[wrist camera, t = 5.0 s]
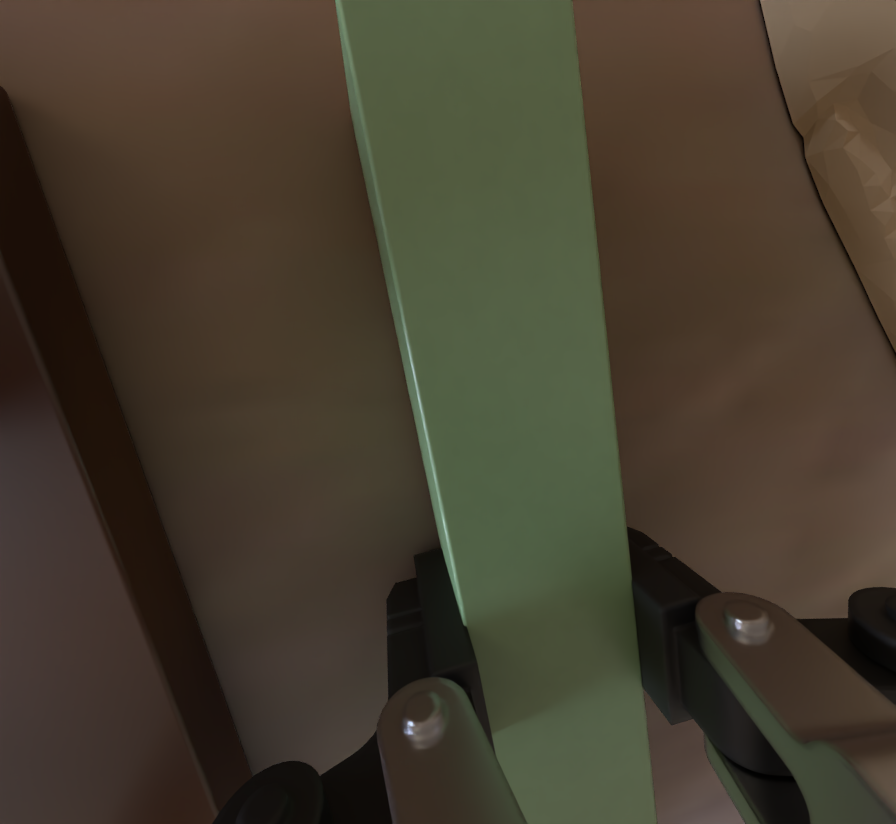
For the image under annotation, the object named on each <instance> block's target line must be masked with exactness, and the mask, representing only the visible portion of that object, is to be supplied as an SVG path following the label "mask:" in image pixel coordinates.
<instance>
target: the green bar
mask: <svg viewBox="0 0 896 824" xmlns="http://www.w3.org/2000/svg"><path fill="white" fill-rule="evenodd" d="M335 4H336V11H337V18H338V25H339V33H340V40H341V47H342V54H343V61H344V69H345V76H346V83H347V90H348V97H349V105H350V112H351V118H352V123H353V128H354V132H355V137H356V142H357V147H358V152H359V156H360V161H361V166H362V171H363V176H364V181H365V185H366V190H367V195H368V200H369V205H370V209H371V214H372V219H373V224H374V229H375V233H376V238H377V243H378V248H379V253H380V257H381V262H382V267H383V272H384V277H385V281H386V286H387V291H388V296H389V301H390V305H391V310H392V315H393V320H394V325H395V329H396V334H397V339H398V344H399V349H400V353H401V358H402V363H403V368H404V373H405V378H406V382H407V387H408V392H409V397H410V402H411V406H412V411H413V416H414V421H415V426H416V430H417V435H418V440H419V445H420V450H421V454H422V459H423V464H424V469H425V474H426V478H427V483H428V488H429V493H430V498H431V502H432V507H433V512H434V517H435V522H436V526H437V531H438V536H439V541H440V546H441V548H442V551H443V555H444V559H445V562H446V566H447V569H448V573H449V576H450V580H451V583H452V587H453V590H454V594H455V597H456V601H457V605H458V608H459V612H460V615H461V619H462V622H463V625H464V626H467V629H468V632H469V636H470V639H471V642H472V646H473V649H474V653H475V656H476V659H477V663H478V668H479V673H480V678H481V683H482V688H483V693H484V698H485V703H486V708H487V713H488V718H489V723H490V728H491V733H492V738H493V743H494V748H495V753H496V757H497V760H498V762H499V764H500V766H501V768H502V770H503V772H504V774H505V777H506V779H507V781H508V783H509V785H510V787H511V789H512V791H513V794H514V796H515V798H516V800H517V802H518V804H519V806H520V808H521V811H522V813H523V815H524V817H525V819H526V821H527V823H528V824H657V815H656V805H655V796H654V786H653V776H652V767H651V757H650V747H649V738H648V728H647V718H646V709H645V699H644V689H643V686H642V676H641V667H640V657H639V647H638V637H637V628H636V618H635V608H634V598H633V589H632V573H631V563H630V554H629V544H628V534H627V525H626V515H625V505H624V496H623V486H622V476H621V467H620V457H619V447H618V438H617V428H616V418H615V409H614V399H613V389H612V380H611V370H610V360H609V351H608V341H607V331H606V322H605V312H604V302H603V292H602V283H601V273H600V263H599V254H598V244H597V234H596V225H595V215H594V205H593V196H592V186H591V176H590V167H589V157H588V147H587V138H586V128H585V118H584V109H583V99H582V89H581V80H580V70H579V60H578V51H577V41H576V31H575V22H574V12H573V2H572V0H335Z"/></svg>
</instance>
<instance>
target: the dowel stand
mask: <svg viewBox="0 0 896 824" xmlns="http://www.w3.org/2000/svg"><path fill="white" fill-rule="evenodd" d="M251 778H252V774H251V772H250V769H249V766H248V763H247V760H246V758H245V755H244V752H243V749H242V746H241V744H240V741H239V738H238V735H237V733H236V730H235V727H234V724H233V721H232V719H231V716H230V713H229V710H228V707H227V705H226V702H225V699H224V696H223V694H222V691H221V688H220V685H219V682H218V680H217V677H216V674H215V671H214V668H213V666H212V663H211V660H210V657H209V655H208V652H207V649H206V646H205V643H204V641H203V638H202V635H201V632H200V629H199V627H198V624H197V621H196V618H195V616H194V613H193V610H192V607H191V604H190V602H189V599H188V596H187V593H186V590H185V588H184V585H183V582H182V579H181V577H180V574H179V571H178V568H177V565H176V563H175V560H174V557H173V554H172V551H171V549H170V546H169V543H168V540H167V538H166V535H165V532H164V529H163V526H162V524H161V521H160V518H159V515H158V512H157V510H156V507H155V504H154V501H153V499H152V496H151V493H150V490H149V487H148V485H147V482H146V479H145V476H144V473H143V471H142V468H141V465H140V462H139V460H138V457H137V454H136V451H135V448H134V446H133V443H132V440H131V437H130V434H129V432H128V429H127V426H126V423H125V421H124V418H123V415H122V412H121V409H120V407H119V404H118V401H117V398H116V395H115V393H114V390H113V387H112V384H111V382H110V379H109V376H108V373H107V370H106V368H105V365H104V362H103V359H102V356H101V354H100V351H99V348H98V345H97V343H96V340H95V337H94V334H93V331H92V329H91V326H90V323H89V320H88V317H87V315H86V312H85V309H84V306H83V304H82V301H81V298H80V295H79V292H78V290H77V287H76V284H75V281H74V278H73V276H72V273H71V270H70V267H69V265H68V262H67V259H66V256H65V253H64V251H63V248H62V245H61V242H60V239H59V237H58V234H57V231H56V228H55V226H54V223H53V220H52V217H51V214H50V212H49V209H48V206H47V203H46V200H45V198H44V195H43V192H42V189H41V187H40V184H39V181H38V178H37V175H36V173H35V170H34V167H33V164H32V161H31V159H30V156H29V153H28V150H27V148H26V145H25V142H24V139H23V136H22V134H21V131H20V128H19V125H18V122H17V120H16V117H15V114H14V111H13V109H12V106H11V103H10V100H9V97H8V95H7V93H6V91H5V90H4V89H3V88H2V87H1V86H0V824H212V823H213V821H214V820H215V818H216V817H217V815H218V814H219V812H220V811H221V810H222V808H223V807H224V805H225V804H226V803H227V801H228V800H229V799H230V798H231V797H232V796H233V794H234V793H235V792H236V791H237V790H238V789H239V788H240V787H241V786H242V785H243V784H245V783H246V782H247V781H248V780H250V779H251Z"/></svg>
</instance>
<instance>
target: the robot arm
mask: <svg viewBox="0 0 896 824" xmlns="http://www.w3.org/2000/svg"><path fill="white" fill-rule="evenodd" d="M627 534H628V544H629V554H630V563H631V573H632V589H633V598H634V608H635V618H636V628H637V637H638V647H639V657H640V667H641V676H642V686H643V688H644V689H645V690H646V692H647V693H648V695H649V696H650V697H651V699H652V700H653V701H654V703H655V704H656V705H657V707H658V708H659V709H660V711H661V712H662V713H663V715H664V716H665V717H666V719H667V720H668V721H669V723H670V724H671V725H675V724H678V723H681V722H684V721H687V720H690V719H694V720H695V722H696V723H697V724H698V725H699V726H700V728H701V729H702V730H703V734H704V747H705V752H706V755H707V758H708V760H709V762H710V764H711V765H712V767H713V769H714V771H715V772H716V774H717V776H718V777H719V779H720V781H721V783H722V784H723V786H724V788H725V790H726V791H727V793H728V795H729V796H730V798H731V800H732V802H733V803H734V805H735V807H736V809H737V810H738V812H739V814H740V815H741V817H742V819H743V821H744V822H745V824H896V588H887V587H872V588H865V589H861V590H858V591H856V592H854V593H853V594H852V595H851V596H850V597H849V600H848V618H832V619H795V618H794V617H793V616H792V615H791V614H790V613H788V612H787V611H786V610H784V609H783V608H781V607H779V606H778V605H776V604H774V603H772V602H770V601H768V600H765V599H762V598H760V597H756V596H753V595H748V594H743V593H735V592H724V593H722V592H721V591H719V590H718V589H717V588H715V587H714V586H713V585H711V584H710V583H709V582H707V581H706V580H705V579H704V578H702V577H701V576H700V575H698V574H697V573H696V572H694V571H693V570H692V569H690V568H689V567H688V566H686V565H685V564H684V563H682V562H681V561H680V560H678V559H677V558H676V557H672V554H670V553H669V552H668V551H666V550H665V549H664V548H662V547H659V545H658V544H657V543H656V542H655V541H653V540H652V539H651V538H649V537H648V536H647V535H645V534H644V533H643V532H640V531H637V530H635V529H632V528H629V527H627ZM414 562H415V568H416V575H417V578H413V579H409V580H405V581H402V582H398V583H395V585H394V587H393V588H392V590H391V592H390V594H389V596H388V598H387V600H386V603H387V634H388V636H387V651H388V702H387V703H386V705H385V706H384V708H383V710H382V712H381V714H380V716H379V720H378V724H377V730H376V732H375V733H374V735H373V736H372V737H371V738H370V739H369V740H368V742H367V743H366V744H365V745H364V746H362V747H361V748H360V749H359V750H358V751H357V752H355V753H354V754H353V755H351V756H350V757H348V758H347V759H345V760H344V761H342V762H341V763H339V764H338V765H336V766H334V767H333V768H331V769H330V770H328V771H327V772H325V773H324V774H322V775H321V776H319V775H318V773H317V771H316V770H315V769H314V768H313V767H312V766H310V765H308V764H307V763H304V762H300V761H287V762H282V763H279V764H275V765H273V766H271V767H268V768H266V769H264V770H263V771H261V772H259V773H258V774H256V775H255V776H253V777H252V778H251V779H250V780H248V781H247V782H246V783H245V784H243V785H242V786H241V787H240V788H239V789H238V790H237V791H236V792H235V793H234V794H233V796H232V797H231V798H230V799H229V800H228V801H227V803H226V804H225V805H224V807H223V808H222V810H221V811H220V812H219V814H218V815H217V817H216V818H215V820H214V821H213V823H212V824H528V823H527V821H526V819H525V817H524V815H523V813H522V811H521V808H520V806H519V804H518V802H517V800H516V798H515V796H514V794H513V791H512V789H511V787H510V785H509V783H508V781H507V779H506V777H505V774H504V772H503V770H502V768H501V766H500V764H499V762H498V760H497V757H496V753H495V748H494V743H493V738H492V733H491V728H490V723H489V718H488V713H487V708H486V703H485V698H484V693H483V688H482V683H481V678H480V673H479V668H478V663H477V659H476V656H475V653H474V649H473V646H472V642H471V639H470V636H469V632H468V629H467V626H464V625H463V622H462V619H461V615H460V612H459V608H458V605H457V601H456V597H455V594H454V590H453V587H452V583H451V580H450V576H449V573H448V569H447V566H446V562H445V559H444V555H443V551H442V548H440V549H436V550H432V551H429V552H425V553H421V554H417V555H414Z"/></svg>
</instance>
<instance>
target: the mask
mask: <svg viewBox="0 0 896 824" xmlns="http://www.w3.org/2000/svg"><path fill="white" fill-rule="evenodd" d="M760 2H761V6H762V10H763V15H764V19H765V23H766V27H767V32H768V36H769V40H770V44H771V49H772V53H773V57H774V62H775V66H776V69H777V73H778V76H779V79H780V83H781V86H782V89H783V92H784V96H785V99H786V102H787V105H788V109H789V112H790V115H791V119H792V122H793V125H794V126H795V127H796V129H797V130H798V131H799V132H800V134H801V135H802V136H803V138H804V148H805V158H806V161H807V163H808V166H809V168H810V171H811V173H812V176H813V179H814V181H815V184H816V186H817V189H818V191H819V194H820V197H821V199H822V202H823V204H824V206H825V208H826V210H827V212H828V214H829V216H830V218H831V220H832V222H833V224H834V226H835V228H836V230H837V232H838V234H839V236H840V238H841V240H842V242H843V244H844V246H845V248H846V250H847V252H848V254H849V256H850V258H851V260H852V262H853V264H854V266H855V268H856V270H857V273H858V275H859V277H860V279H861V281H862V283H863V286H864V288H865V290H866V292H867V294H868V296H869V298H870V301H871V303H872V305H873V307H874V309H875V311H876V313H877V316H878V318H879V320H880V322H881V324H882V326H883V328H884V330H885V332H886V334H887V336H888V338H889V340H890V342H891V344H892V346H893V348H894V350H895V352H896V0H760Z"/></svg>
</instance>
